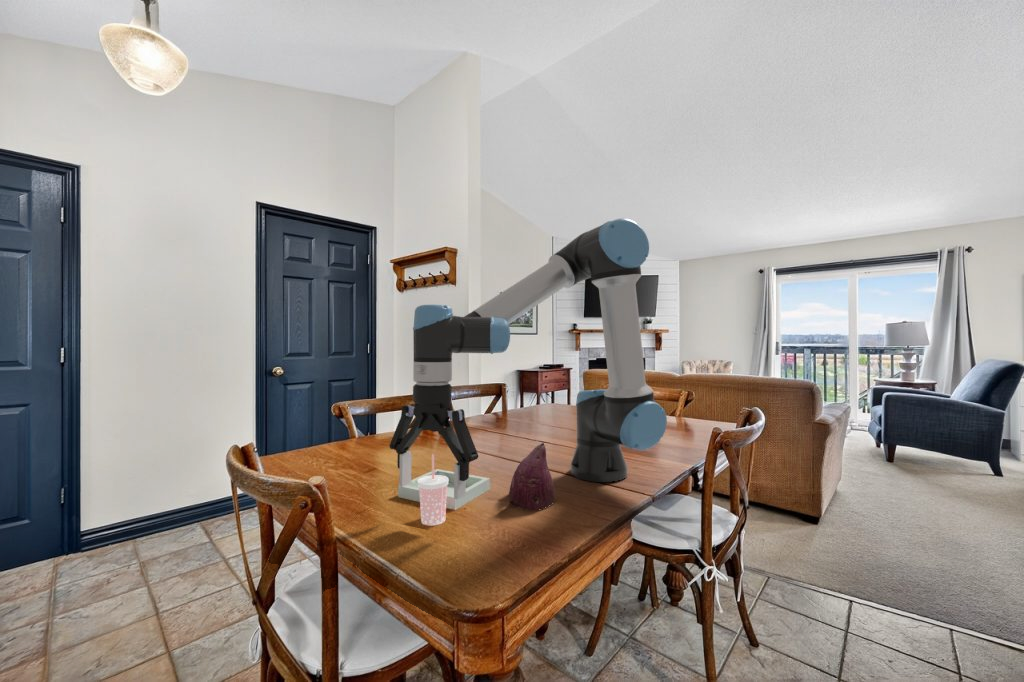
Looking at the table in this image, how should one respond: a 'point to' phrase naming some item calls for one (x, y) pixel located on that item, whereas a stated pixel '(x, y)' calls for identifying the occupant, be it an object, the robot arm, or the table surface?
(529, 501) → the vegetable
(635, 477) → the table surface
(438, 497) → the beverage cup
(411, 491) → the tray
